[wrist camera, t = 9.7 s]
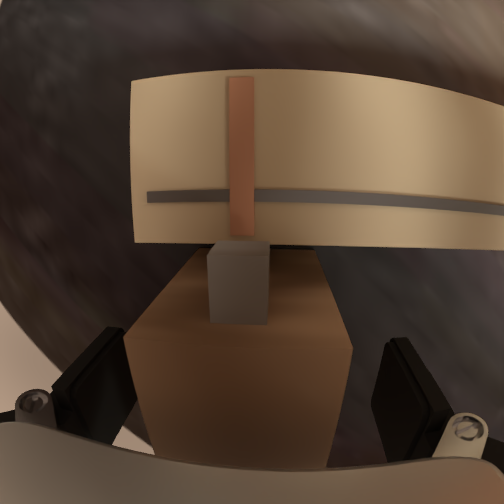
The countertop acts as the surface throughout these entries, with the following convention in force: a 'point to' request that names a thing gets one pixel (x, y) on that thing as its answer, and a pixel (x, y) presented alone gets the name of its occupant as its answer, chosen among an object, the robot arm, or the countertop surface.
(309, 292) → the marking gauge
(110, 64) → the countertop surface
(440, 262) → the countertop surface
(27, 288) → the countertop surface
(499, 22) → the countertop surface
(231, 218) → the guide plank
